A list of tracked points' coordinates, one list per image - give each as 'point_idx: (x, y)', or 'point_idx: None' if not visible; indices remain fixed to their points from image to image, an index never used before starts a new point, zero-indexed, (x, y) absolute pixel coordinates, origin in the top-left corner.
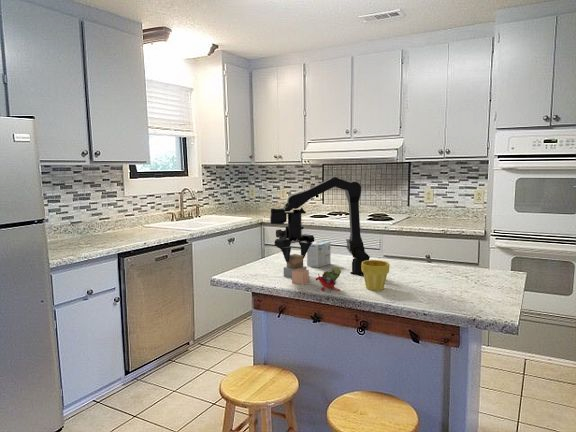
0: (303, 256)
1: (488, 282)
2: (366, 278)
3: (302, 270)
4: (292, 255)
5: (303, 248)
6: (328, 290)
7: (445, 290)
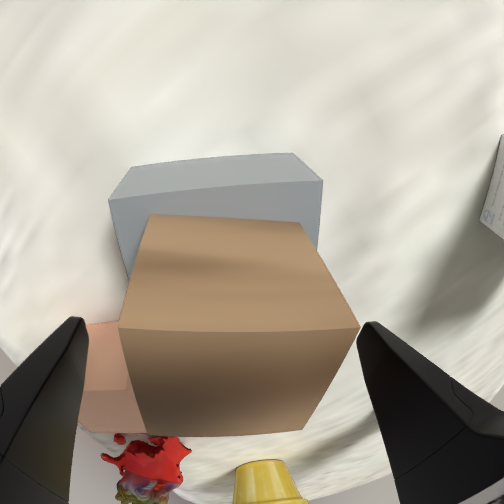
0: (364, 370)
1: (387, 469)
2: (235, 494)
3: (115, 420)
4: (210, 381)
5: (420, 445)
6: (137, 439)
7: (317, 484)
